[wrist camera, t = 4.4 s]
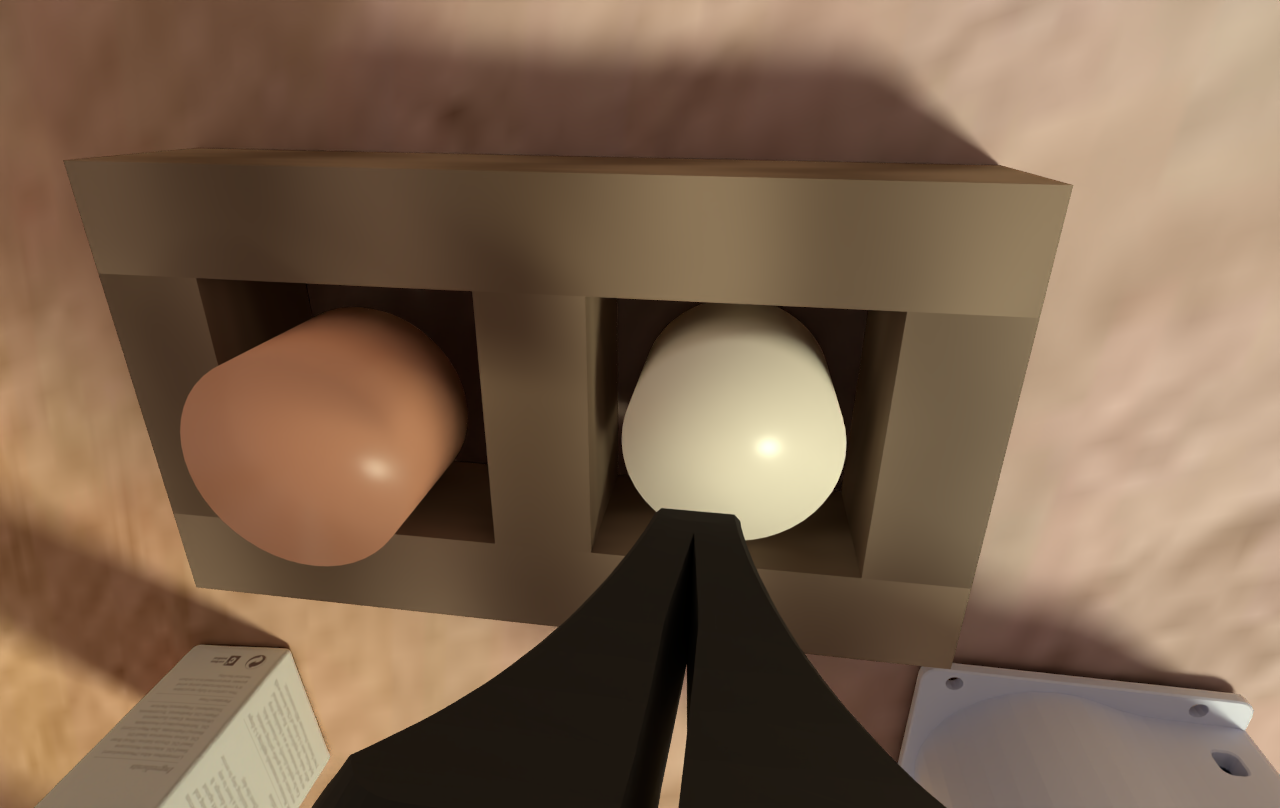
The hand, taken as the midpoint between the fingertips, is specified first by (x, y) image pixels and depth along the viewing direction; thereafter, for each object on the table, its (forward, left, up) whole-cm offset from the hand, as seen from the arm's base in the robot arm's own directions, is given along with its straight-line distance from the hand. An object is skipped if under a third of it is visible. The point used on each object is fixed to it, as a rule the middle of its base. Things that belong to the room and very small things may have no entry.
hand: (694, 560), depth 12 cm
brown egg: (+9, 0, -5) cm, 10 cm away
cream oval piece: (0, 0, -8) cm, 8 cm away
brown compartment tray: (+4, 0, -8) cm, 9 cm away
